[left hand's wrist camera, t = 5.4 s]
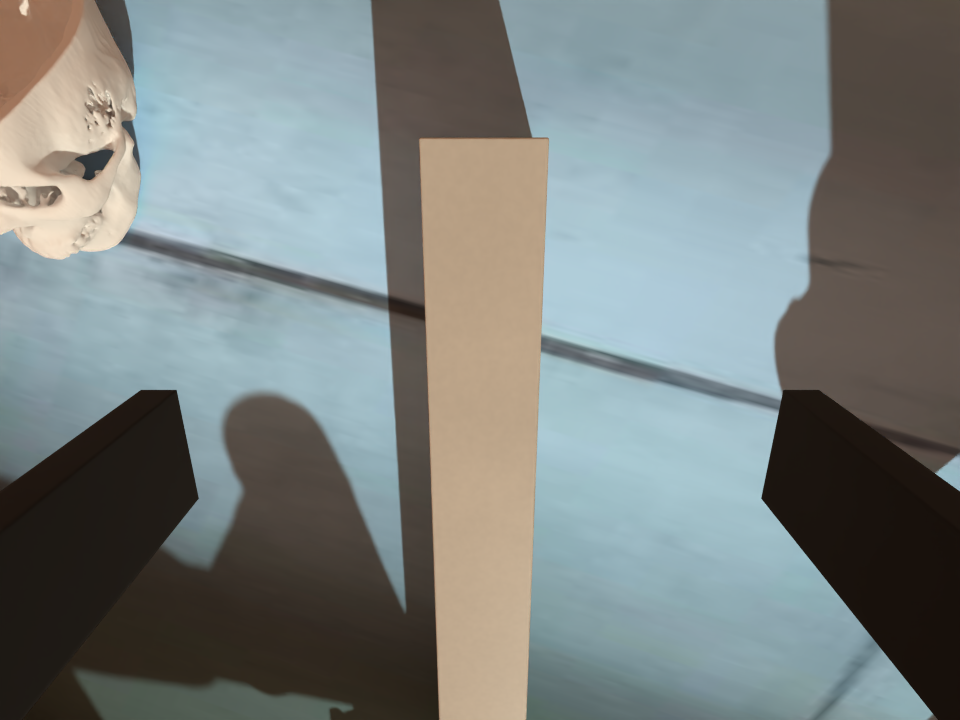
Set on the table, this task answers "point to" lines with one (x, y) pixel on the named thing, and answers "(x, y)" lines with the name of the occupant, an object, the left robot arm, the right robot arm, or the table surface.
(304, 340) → the table surface
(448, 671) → the post
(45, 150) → the skull bowl
